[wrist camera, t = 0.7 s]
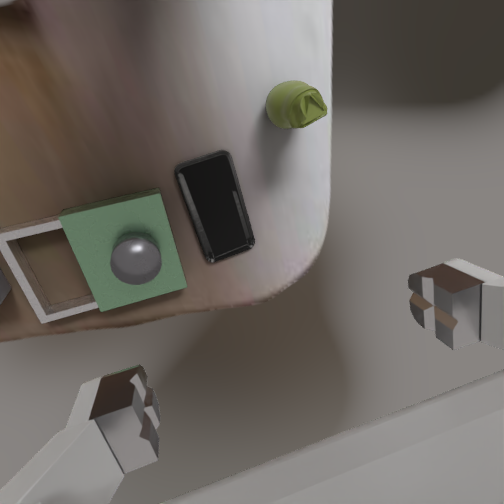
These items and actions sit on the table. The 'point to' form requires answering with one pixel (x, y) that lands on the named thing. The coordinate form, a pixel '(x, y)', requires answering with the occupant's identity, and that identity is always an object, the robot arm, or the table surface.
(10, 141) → the table surface
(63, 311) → the multicoloured piece
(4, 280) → the grey rectangular cuboid
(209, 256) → the phone
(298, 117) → the pear
